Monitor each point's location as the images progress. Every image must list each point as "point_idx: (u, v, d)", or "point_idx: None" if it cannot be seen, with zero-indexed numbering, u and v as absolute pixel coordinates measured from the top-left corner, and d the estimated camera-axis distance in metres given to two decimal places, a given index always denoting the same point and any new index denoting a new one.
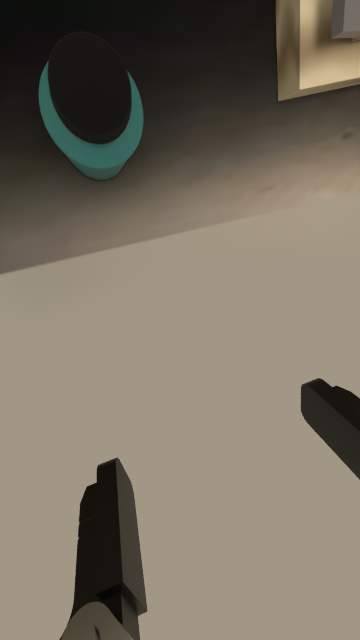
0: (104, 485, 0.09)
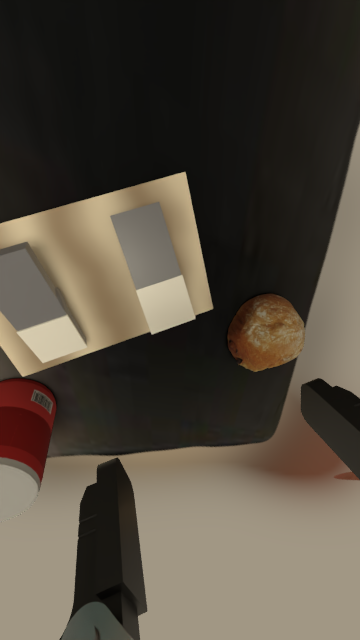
0: (104, 485, 0.09)
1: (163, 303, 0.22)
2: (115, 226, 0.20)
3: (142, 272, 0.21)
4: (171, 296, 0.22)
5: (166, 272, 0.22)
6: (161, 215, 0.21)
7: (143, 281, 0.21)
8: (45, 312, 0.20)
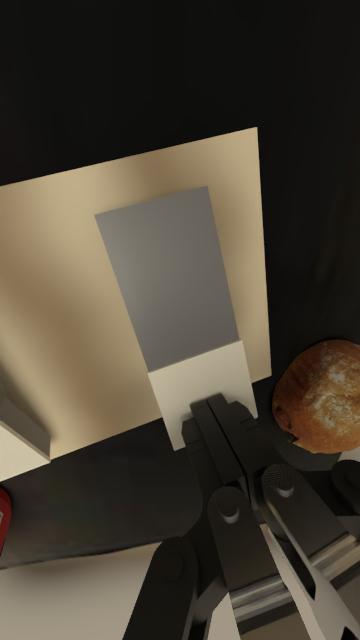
0: (202, 417, 0.10)
1: (201, 394, 0.11)
2: (106, 239, 0.09)
3: (162, 336, 0.10)
4: (217, 381, 0.11)
5: (210, 335, 0.11)
6: (210, 217, 0.09)
7: (163, 354, 0.10)
8: None
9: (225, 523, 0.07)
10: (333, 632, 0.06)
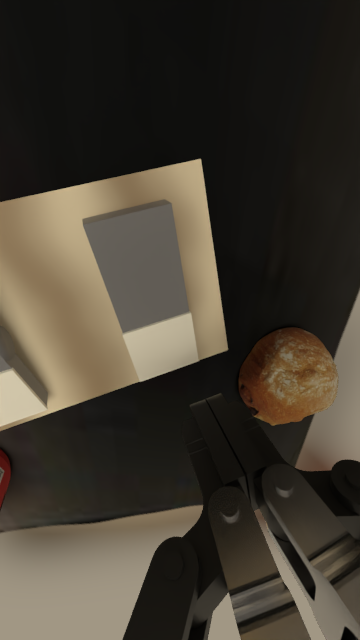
0: (202, 417, 0.10)
1: (160, 347, 0.16)
2: (92, 243, 0.11)
3: (133, 310, 0.14)
4: (171, 339, 0.16)
5: (168, 308, 0.15)
6: (172, 227, 0.12)
7: (134, 321, 0.14)
8: None
9: (225, 523, 0.07)
10: (333, 632, 0.06)
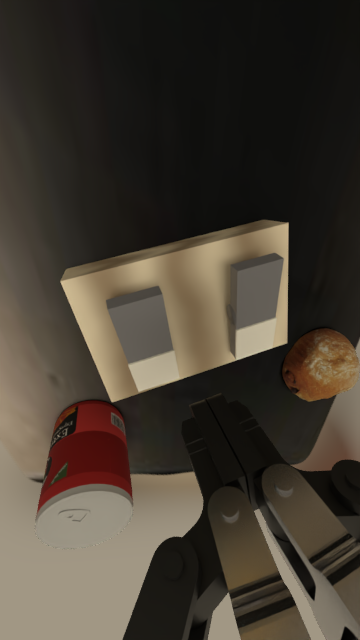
0: (202, 417, 0.10)
1: (253, 338, 0.25)
2: (238, 280, 0.20)
3: (246, 316, 0.23)
4: (261, 333, 0.25)
5: (264, 315, 0.24)
6: (280, 270, 0.21)
7: (244, 323, 0.23)
8: (157, 347, 0.22)
9: (225, 523, 0.07)
10: (333, 632, 0.06)
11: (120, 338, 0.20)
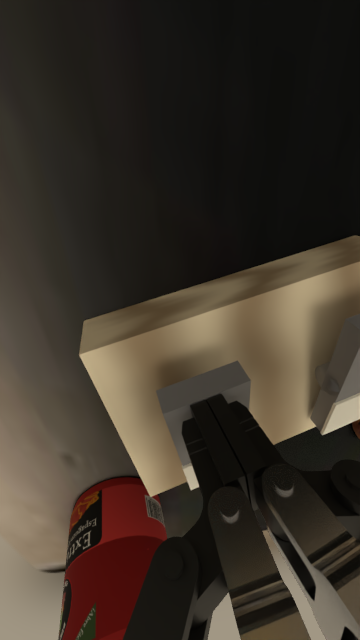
0: (202, 417, 0.10)
1: (353, 409, 0.17)
2: None
3: (353, 386, 0.15)
4: None
5: None
6: None
7: (347, 394, 0.16)
8: None
9: (225, 523, 0.07)
10: (333, 632, 0.06)
11: (176, 442, 0.13)
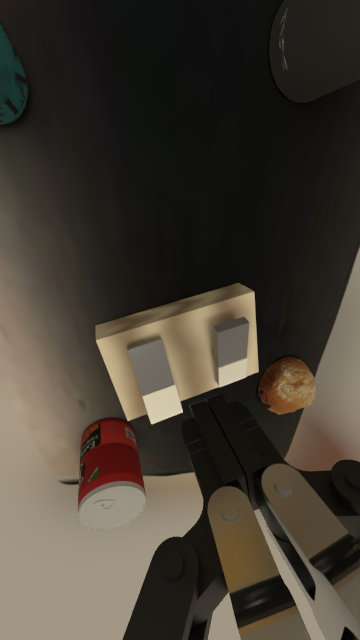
0: (202, 417, 0.10)
1: (231, 372, 0.34)
2: (218, 337, 0.29)
3: (225, 358, 0.32)
4: (237, 368, 0.34)
5: (238, 356, 0.33)
6: (247, 329, 0.30)
7: (224, 362, 0.33)
8: (162, 381, 0.31)
9: (226, 523, 0.07)
10: (333, 632, 0.06)
11: (136, 372, 0.29)
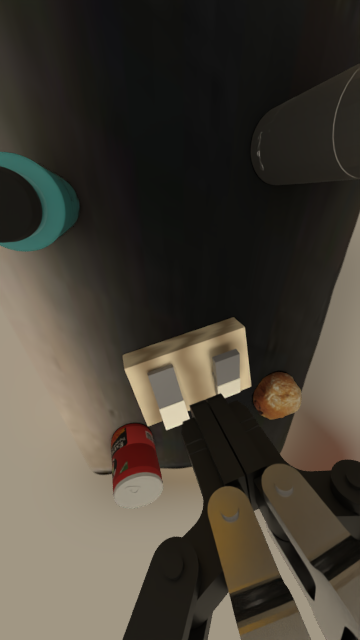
0: (202, 417, 0.10)
1: (228, 389, 0.43)
2: (216, 365, 0.39)
3: (222, 379, 0.42)
4: (232, 386, 0.43)
5: (233, 377, 0.42)
6: (238, 358, 0.40)
7: (221, 382, 0.42)
8: (174, 398, 0.40)
9: (225, 523, 0.07)
10: (333, 632, 0.06)
11: (154, 392, 0.39)
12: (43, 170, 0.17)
